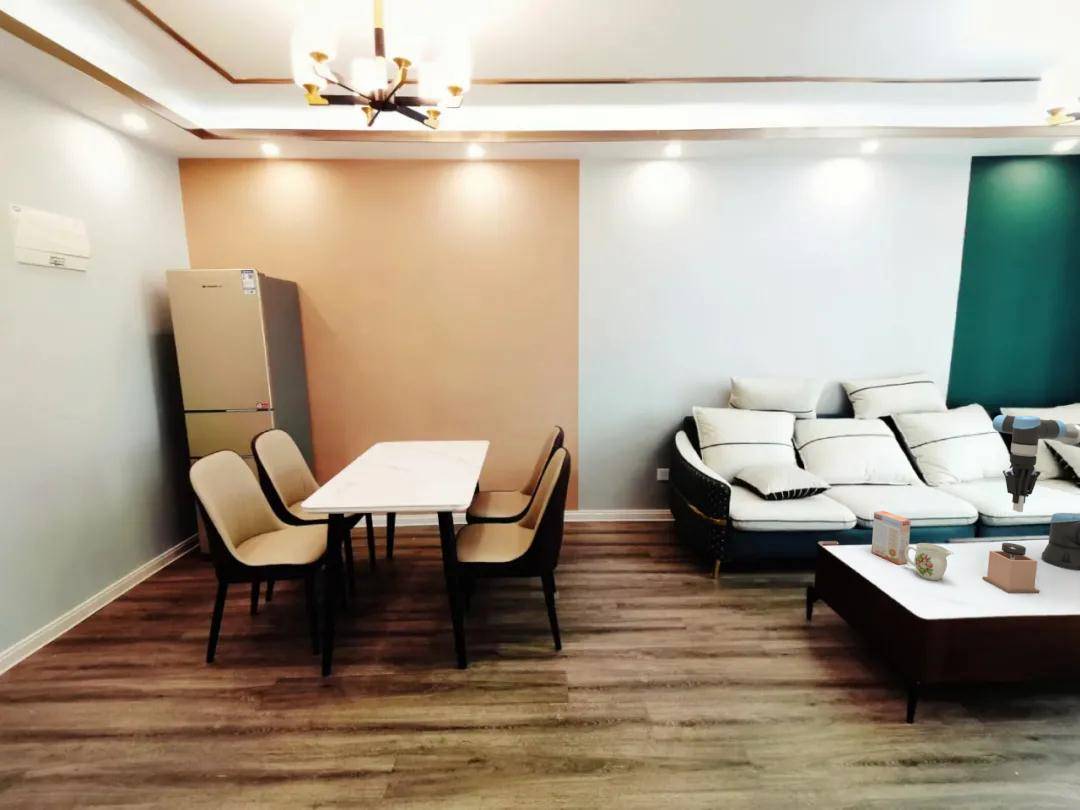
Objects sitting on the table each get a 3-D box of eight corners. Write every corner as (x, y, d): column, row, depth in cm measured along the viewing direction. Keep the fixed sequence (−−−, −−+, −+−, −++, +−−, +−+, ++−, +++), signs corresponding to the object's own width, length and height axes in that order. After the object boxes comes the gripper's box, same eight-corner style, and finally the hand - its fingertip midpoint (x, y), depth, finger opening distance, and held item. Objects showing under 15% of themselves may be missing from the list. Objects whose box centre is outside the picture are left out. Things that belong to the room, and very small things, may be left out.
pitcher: (911, 565, 221) (913, 536, 220) (958, 582, 205) (960, 550, 204) (896, 569, 217) (898, 540, 215) (943, 587, 201) (946, 555, 199)
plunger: (1011, 577, 204) (1014, 542, 203) (1028, 585, 197) (1032, 550, 195) (992, 577, 205) (996, 542, 203) (1009, 585, 197) (1012, 549, 195)
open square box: (1011, 579, 207) (1014, 549, 205) (1039, 593, 195) (1042, 562, 193) (982, 579, 207) (985, 549, 206) (1008, 593, 195) (1011, 562, 194)
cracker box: (908, 563, 223) (911, 519, 220) (897, 565, 222) (900, 521, 219) (881, 551, 236) (884, 510, 234) (870, 552, 235) (873, 511, 233)
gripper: (1031, 452, 198) (1025, 507, 201) (998, 452, 199) (992, 508, 201) (1049, 456, 191) (1043, 514, 193) (1015, 456, 191) (1009, 514, 194)
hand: (1017, 510), depth 197 cm, fingers closed
